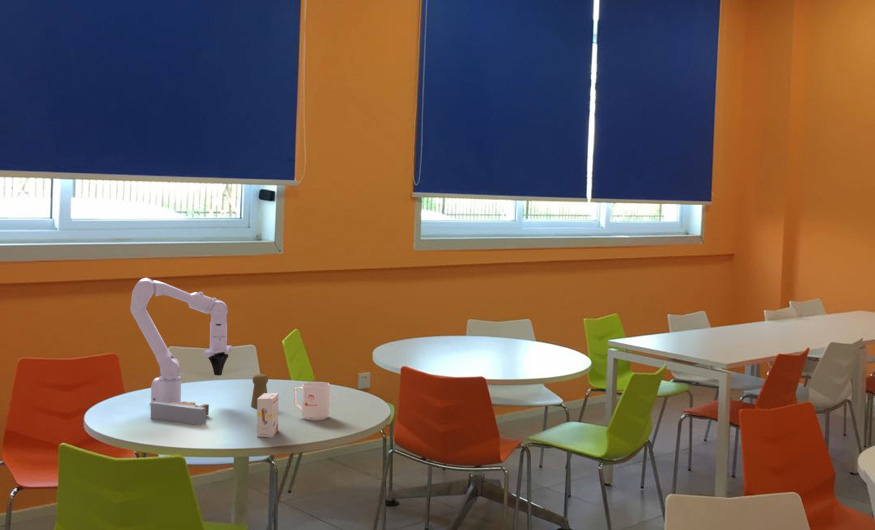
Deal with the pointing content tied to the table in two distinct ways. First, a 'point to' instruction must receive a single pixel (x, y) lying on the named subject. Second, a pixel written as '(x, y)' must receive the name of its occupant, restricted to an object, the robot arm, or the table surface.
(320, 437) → the table surface
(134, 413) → the table surface
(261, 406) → the ink box
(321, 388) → the mug
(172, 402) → the walnut cradle
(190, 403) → the oak dowel
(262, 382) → the cork
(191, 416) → the wall
